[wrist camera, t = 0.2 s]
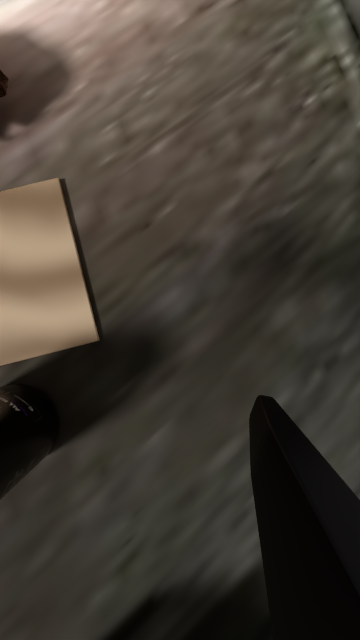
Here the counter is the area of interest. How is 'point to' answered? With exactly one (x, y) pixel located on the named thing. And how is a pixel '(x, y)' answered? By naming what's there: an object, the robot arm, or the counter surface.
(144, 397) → the counter surface
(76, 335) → the cork mat
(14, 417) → the supplement bottle
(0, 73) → the dragon fruit
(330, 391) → the counter surface
